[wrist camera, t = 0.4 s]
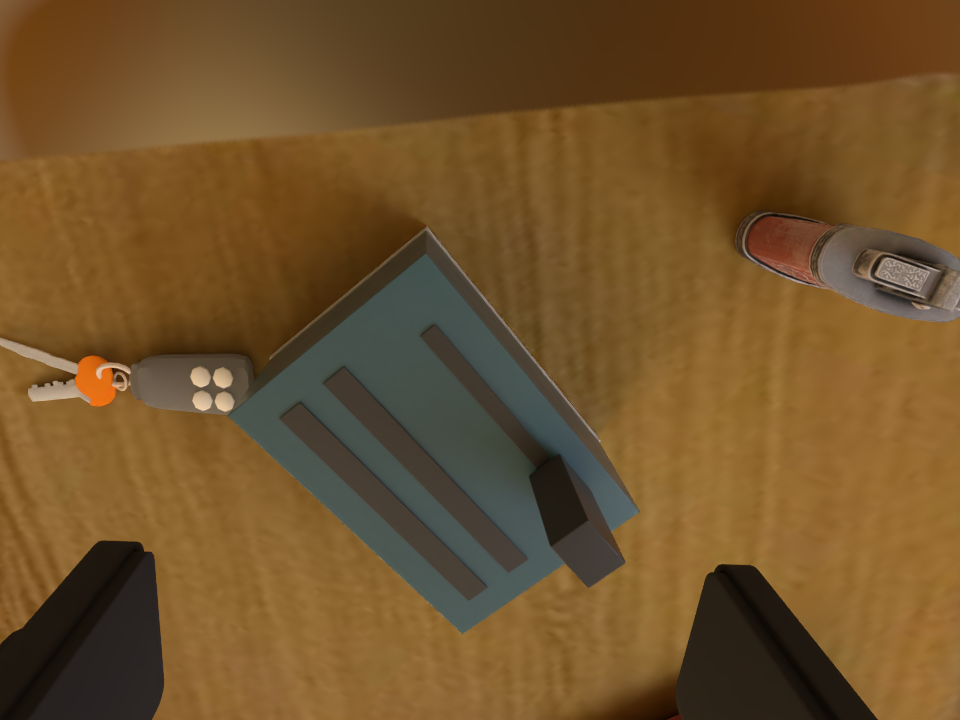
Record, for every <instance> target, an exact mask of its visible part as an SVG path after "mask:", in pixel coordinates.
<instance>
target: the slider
mask: <svg viewBox="0 0 960 720" xmlns="http://www.w3.org/2000/svg"><path fill="white" fill-rule="evenodd" d="M529 479H530V483H531V486H532V489H533V492H534V496H535V499H536V502H537V506H538V509H539V512H540V515H541V519H542V522H543V525H544V528H545V532H546V535H547V538H548V541H549V545H550V547H551V548H552V549H553V551H554V552H555V553H556V554H557V555H558V556H559V557H560V558H561V559H562V560H563V561H564V562H565V564H566V565H567V566H568V567H569V568H570V569H571V570H572V571H573V572H574V573H575V574H576V575H577V576H578V578H579V579H580V580H581V581H582V582H583V583H584V584H585V585H586V586H587V587H588V588H589V587H591V586H592V585H594V584H595V583H597V582H598V581H600V580H601V579H603V578H604V577H606V576H607V575H609V574H610V573H612V572H613V571H614V570H616V569H617V568H619V567H620V566H622V565H623V564H625V560H624V558H623V556H622V554H621V552H620V550H619V548H618V545H617V543H616V541H615V539H614V537H613V535H612V533H611V531H610V529H609V527H608V525H607V522H606V520H605V518H604V516H603V514H602V512H601V510H600V508H599V506H598V504H597V502H596V500H595V497H594V495H593V493H592V491H591V490H590V488H589V487H588V486H587V485H586V484H585V483H584V481H583V480H582V479H581V478H580V477H579V476H578V474H577V473H576V472H575V471H574V470H573V468H572V467H571V466H570V465H569V464H568V463H567V461H566V460H565V459H564V458H563V457H562V456H561V454H558V455H557V456H555V457H554V458H552V459H551V460H550V461H548V462H547V463H546V464H544V465H543V466H541V467H540V468H539V469H537V470H536V471H535V472H533V473H532V474H530V475H529Z"/></svg>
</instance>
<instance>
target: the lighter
mask: <svg viewBox="0 0 960 720" xmlns="http://www.w3.org/2000/svg"><path fill="white" fill-rule="evenodd" d="M735 245H736V248H737V251H738V252H739V253H740V254H741V255H742V256H743V257H744V258H746V259H748V260H749V261H751V262H753V263H754V264H756V265H758V266H759V267H761V268H763V269H765V270H767V271H770V272H772V273H774V274H777V275H779V276H781V277H784V278H786V279H789V280H792V281H795V282H798V283H802V284H806V285H811V286H815V287H819V288H825V289H830V290H833V291H834V292H836V293H838V294H839V295H841V296H843V297H845V298H848V299H850V300H852V301H855V302H857V303H860V304H862V305H864V306H867V307H869V308H872V309H874V310H877V311H880V312H884V313H888V314H892V315H896V316H900V317H905V318H909V319H914V320H924V321H934V322H950V321H953V320H955V319H957V318H959V317H960V259H958V258H957V257H955V256H954V255H952V254H951V253H949V252H947V251H945V250H943V249H941V248H939V247H936V246H934V245H932V244H930V243H928V242H926V241H923V240H921V239H918V238H914V237H910V236H907V235H903V234H899V233H895V232H891V231H887V230H881V229H875V228H866V227H861V226H855V225H850V224H844V223H838V224H836V226H832V225H829V224H827V223H825V222H821V221H817V220H813V219H810V218H806V217H802V216H798V215H792V214H785V213H777V212H768V211H757V212H754V213H752V214H750V215H748V216H747V217H746V218H745V219H744V220H743V221H742V223H741V224H740V226H739V228H738V230H737V233H736V237H735Z"/></svg>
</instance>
